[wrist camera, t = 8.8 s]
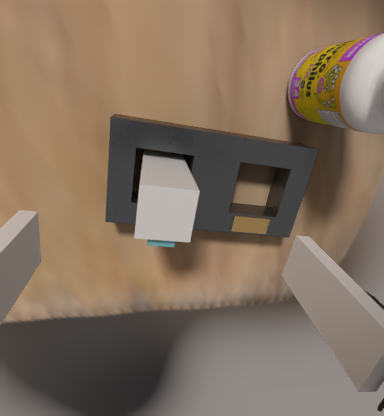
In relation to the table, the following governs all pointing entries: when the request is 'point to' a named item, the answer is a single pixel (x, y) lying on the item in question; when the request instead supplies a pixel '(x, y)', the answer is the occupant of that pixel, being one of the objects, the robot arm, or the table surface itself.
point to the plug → (165, 200)
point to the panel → (211, 174)
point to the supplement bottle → (342, 85)
